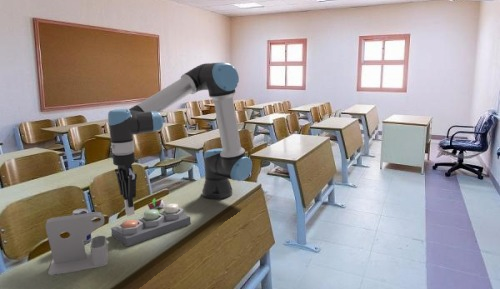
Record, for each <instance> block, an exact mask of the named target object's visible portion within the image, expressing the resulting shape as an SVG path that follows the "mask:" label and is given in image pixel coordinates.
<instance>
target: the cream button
mask: <svg viewBox="0 0 500 289" xmlns="http://www.w3.org/2000/svg"><path fill="white" fill-rule="evenodd" d="M178 207H179V204H178V203H167V204H165V206H164V208H163V209H164V210H165V213H166V214H175V213H177V212H178V211H179V208H180V207H179V208H178Z"/></svg>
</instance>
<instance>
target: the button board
mask: <svg viewBox="0 0 500 289" xmlns="http://www.w3.org/2000/svg"><path fill="white" fill-rule="evenodd" d="M178 208H179V211H178V212H177V213H175V214H166V213H165V210H164V208H163V209H162V210H161V212H160V213H159V218H158V219H156V220H152V221H147V220H145V219H144V215H142V216H141V217H140V218H138V219H134V220H136V221H137V222H138V225H137V226H135V227H132V228H122V223H123V222H124V221H127V219H126V220H123V221H121V222H120V223H119V224H117V225H116V226H113V227H111V228H110V229H111V236H113V237H114V238H115V239H116V240H118V241H119V242H120V243H122V244H123V245H124V246H126V247H130V246H133V245H136V244H138V243H141V242H144V241H147V240H149V239H153V238H155V237H158V236H161V235H165V234H166V233H168V232H169V233H170V232H171V231H174V230H177V229H180V228H183V227H186V226H189V225H191V224H192V222H191V221H192V220H191V216H190V215H187V214H185V212H184V209H183V208H181V207H179V206H178Z"/></svg>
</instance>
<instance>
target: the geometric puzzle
mask: <svg viewBox="0 0 500 289" xmlns="http://www.w3.org/2000/svg"><path fill="white" fill-rule="evenodd" d="M156 199H157V198H156V197H154V198H153V199H152V200H151V201H150V203H147V207H148V208H149V210H152V209H155V210H158V211H159V213H160V212H161V211H162V210H163V209H164V206H165V205H166V203H165V201H163V199H161V198H159V199H158V200H156Z"/></svg>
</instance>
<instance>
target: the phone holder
mask: <svg viewBox="0 0 500 289" xmlns="http://www.w3.org/2000/svg"><path fill="white" fill-rule="evenodd" d="M94 218H98V219H100V220H98V221H93V220H92V219H94ZM45 222H46V223H45V232H46V235H47V238H48V243H49V248H50V251H51V255H52V260H51V264H49V265H50V266H49V268H48V271H47V273H48V276H55V275H54V274H57V275H61V274H60V273H63V274H66V273H72V272H73V273H74V272H78V271H79V272H80V271H83V270H90V269H94V268H99V267H100V268H101V267H104V266H106V265H107V264H108V261H109V260H108V258H109V251H108V244H107V243H108V242H107V237H106V236H105V235H96V236H94V237H92V238H91V241H90V252H86V247H85V244H84V241H83V238H84V237H86V236H87V235H89V234H90V233H91V234H93V232H95V231H96V230H97V229H99V228H101V227H102V226H104V224H105V216H104V213H102V212H100V211H94V212H93V211H92V212H89V213H84V214H77V215H72V214H70V215H63V216H57V217H56V216H55V217H51V218H48V219H47V220H46V221H45ZM61 233H68V234H69V236H68V237H65V238H63V237H62V236H61Z"/></svg>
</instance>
